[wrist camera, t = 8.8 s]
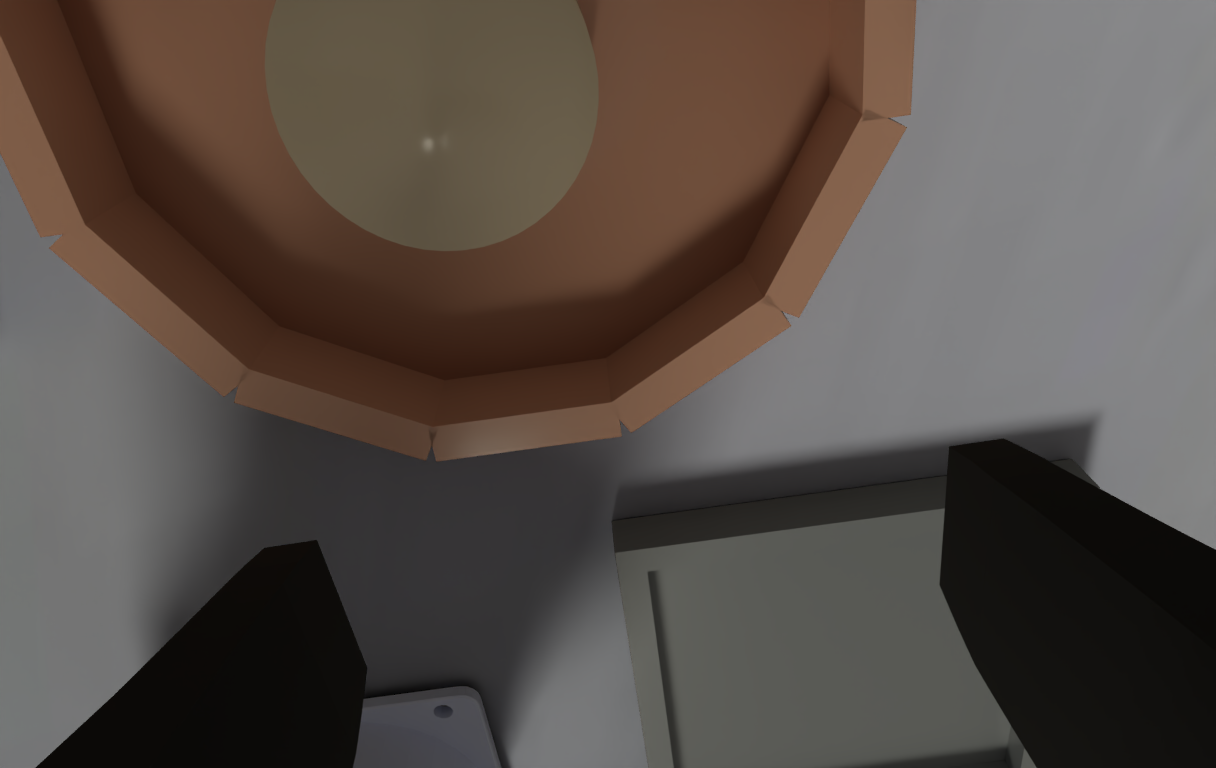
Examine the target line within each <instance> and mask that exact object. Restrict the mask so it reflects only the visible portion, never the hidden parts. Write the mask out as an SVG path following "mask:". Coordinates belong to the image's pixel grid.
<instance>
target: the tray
mask: <svg viewBox="0 0 1216 768" xmlns="http://www.w3.org/2000/svg"><path fill="white" fill-rule="evenodd" d="M1051 463H1053V464H1055V465H1057V466H1059V467H1061V468H1062V469H1064V470H1066V471H1068V472H1070V473H1072V474H1074V475H1075V476H1077V477H1079V478H1081V479H1083V480H1085V481H1086V482H1088V483H1090V484H1092V485H1094V486H1096V487H1097V488H1099V489H1100V487H1099V486H1098V485H1097V484H1096V483H1095V482H1094V481H1093V480H1092V479H1091V478H1090V477H1089V476H1088V475H1087V474H1086V473H1085V472H1084V471H1083V470H1082V469H1081V468H1080V467H1079V466H1078V465H1077V464H1076V463H1075V462H1074V461H1073V460H1072V459H1066V460H1059V461H1052V462H1051ZM946 484H947V476H941V477H933V478H926V479H919V480H911V481H904V482H897V483H889V484H882V485H874V486H867V487H860V488H852V489H845V490H837V491H830V492H823V493H815V494H808V495H800V496H793V497H786V498H778V499H771V500H764V501H756V502H749V503H741V504H734V505H727V506H719V507H712V508H704V509H697V510H690V511H682V512H675V513H667V514H660V515H653V516H645V517H638V518H631V519H623V520H616V521H612V530H613V541H614V551H615V558H616V565H617V571H618V577H619V584H620V590H621V596H622V603H623V609H624V615H625V622H626V628H627V634H628V641H629V647H630V653H631V660H632V666H633V673H634V679H635V685H636V692H637V698H638V704H639V711H640V717H641V723H642V730H643V736H644V742H645V749H646V755H647V761H648V768H1036V766H1035V764H1034V763H1033V761H1032V759H1031V758H1030V756H1029V755H1028V753H1027V751H1026V750H1025V748H1024V746H1023V745H1022V743H1021V741H1020V740H1019V738H1018V737H1017V735H1016V733H1015V732H1014V730H1013V728H1012V727H1011V725H1010V723H1009V722H1008V720H1007V718H1006V717H1005V715H1004V713H1003V712H1002V710H1001V708H1000V707H999V705H998V703H997V702H996V700H995V698H994V697H993V695H992V693H991V692H990V690H989V688H988V687H987V685H986V683H985V681H984V680H983V678H982V676H981V675H980V673H979V671H978V669H977V668H976V666H975V664H974V662H973V660H972V658H971V655H970V653H969V651H968V649H967V647H966V645H965V642H964V640H963V638H962V636H961V634H960V632H959V629H958V627H957V625H956V623H955V620H954V618H953V616H952V613H951V611H950V609H949V606H948V604H947V602H946V599H945V597H944V595H943V592H942V590H941V588H940V585H939V583H940V569H941V555H942V540H943V526H944V512H945V498H946Z"/></svg>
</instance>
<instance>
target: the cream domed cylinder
mask: <svg viewBox="0 0 1216 768" xmlns="http://www.w3.org/2000/svg"><path fill="white" fill-rule="evenodd" d="M265 76H266V88H267V93H268V98H269V103H270V107H271V112H272V115H273V118H274V121H275V123H276V126H277V129H278V132H279V135H280V137H281V139H282V141H283V143H284V145H285V147H286V149H287V151H288V153H289V155H290V157H291V158H292V160H293V161H294V163H295V164H296V166H297V168H298V169H299V171H300V172H301V174H302V175H303V176H304V177H305V179H306V180H307V181H308V182H309V184H310V185H311V186H312V187H313V189H314V190H315V191H316V192H317V193H318V194H319V195H320V196H321V197H322V198H323V199H324V200H325V201H326V202H327V203H328V204H329V205H330V206H332V207H333V208H334V209H335V210H337V211H338V212H339V213H341V214H342V215H343V216H344V217H346V218H347V219H348V220H350V221H352V222H353V223H355V224H356V225H358V226H360V227H361V228H363V229H365V230H366V231H369V232H371V233H373V234H375V235H377V236H379V237H381V238H384V239H386V240H389V241H392V242H395V243H398V244H401V245H404V246H409V247H414V248H419V249H424V250H436V251H459V250H468V249H474V248H480V247H485V246H488V245H491V244H494V243H498V242H501V241H503V240H506V239H508V238H510V237H512V236H514V235H517V234H519V233H520V232H522V231H524V230H525V229H527V228H528V227H530V226H532V225H533V224H535V223H536V222H537V221H539V220H540V219H541V218H542V217H543V216H545V215H546V214H547V213H548V212H549V211H551V210H552V208H553V207H554V206H555V205H556V204H557V203H558V202H559V201H560V200H561V199H562V198H563V197H564V195H565V194H566V192H567V191H568V190H569V188H570V187H571V185H572V184H573V183H574V181H575V180H576V178H577V176H578V174H579V172H580V170H581V168H582V166H583V164H584V162H585V160H586V157H587V155H588V152H589V149H590V146H591V144H592V140H593V136H594V131H595V127H596V122H597V113H598V103H599V89H598V73H597V67H596V60H595V54H594V51H593V47H592V44H591V40H590V37H589V33H588V30H587V27H586V24H585V20H584V17H583V14H582V11H581V8H580V5H579V3H578V1H577V0H276V3H275V6H274V9H273V12H272V15H271V18H270V21H269V27H268V33H267V38H266V46H265Z"/></svg>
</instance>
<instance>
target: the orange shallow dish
mask: <svg viewBox="0 0 1216 768" xmlns="http://www.w3.org/2000/svg"><path fill="white" fill-rule="evenodd" d="M577 1H578V3H579V5H580V8H581V11H582V14H583V17H584V20H585V24H586V27H587V30H588V33H589V37H590V40H591V44H592V47H593V51H594V54H595V60H596V67H597V73H598V89H599V103H598V113H597V122H596V127H595V131H594V136H593V140H592V144H591V146H590V149H589V152H588V155H587V157H586V160H585V162H584V164H583V166H582V168H581V170H580V172H579V174H578V176H577V178H576V180H575V181H574V183H573V184H572V185H571V187H570V188H569V190H568V191H567V192H566V194H565V195H564V197H563V198H562V199H561V200H560V201H559V202H558V203H557V204H556V205H555V206H554V207H553V208H552V210H551V211H549V212H548V213H547V214H546V215H545V216H543V217H542V218H541V219H540V220H539V221H537V222H536V223H535V224H533V225H532V226H530V227H528V228H527V229H525V230H524V231H522V232H520V233H519V234H517V235H514V236H512V237H510V238H508V239H506V240H503V241H501V242H498V243H494V244H491V245H488V246H485V247H480V248H474V249H468V250H459V251H436V250H424V249H419V248H414V247H409V246H404V245H401V244H398V243H395V242H392V241H389V240H386V239H384V238H381V237H379V236H377V235H375V234H373V233H371V232H369V231H366V230H365V229H363V228H361V227H360V226H358V225H356V224H355V223H353V222H352V221H350V220H348V219H347V218H346V217H344V216H343V215H342V214H341V213H339V212H338V211H337V210H335V209H334V208H333V207H332V206H330V205H329V204H328V203H327V202H326V201H325V200H324V199H323V198H322V197H321V196H320V195H319V194H318V193H317V192H316V191H315V190H314V189H313V187H312V186H311V185H310V184H309V182H308V181H307V180H306V179H305V177H304V176H303V175H302V174H301V172H300V171H299V169H298V168H297V166H296V164H295V163H294V161H293V160H292V158H291V157H290V155H289V153H288V151H287V149H286V147H285V145H284V143H283V141H282V139H281V137H280V135H279V132H278V129H277V126H276V123H275V121H274V118H273V115H272V112H271V107H270V103H269V98H268V93H267V88H266V76H265V46H266V38H267V33H268V27H269V21H270V18H271V15H272V12H273V9H274V6H275V3H276V0H0V153H1V156H2V158H3V160H4V162H5V164H6V166H7V168H8V170H9V172H10V174H11V177H12V179H13V181H14V183H15V185H16V187H17V189H18V191H19V193H20V195H21V197H22V200H23V202H24V204H25V206H26V208H27V210H28V212H29V214H30V216H31V218H32V221H33V223H34V225H35V227H36V229H37V231H38V233H39V235H40V237H46V236H53V235H60V234H63V235H62V236H61V237H60V238H59V239H58V240H57V241H56V242H55V243H54V244H53V245H52V246H51V247H49V249H51V250H52V251H53V252H54V253H55V254H56V255H58V256H59V257H60V258H61V259H62V260H64V261H65V262H66V263H67V264H68V265H69V266H71V267H72V268H73V269H74V270H75V271H76V272H78V273H79V274H80V275H81V276H82V277H83V278H85V279H86V280H87V281H88V282H89V283H91V284H92V285H93V286H94V287H95V288H96V289H98V290H99V291H100V292H101V293H102V294H103V295H105V296H106V297H107V298H108V299H109V300H110V301H112V302H113V303H114V304H115V305H116V306H118V307H119V308H120V309H121V310H122V311H123V312H125V313H126V314H127V315H128V316H129V317H130V318H132V319H133V320H134V321H135V322H136V323H137V324H139V325H140V326H141V327H142V328H143V329H144V330H146V331H147V332H148V333H149V334H150V335H152V336H153V337H154V338H155V339H156V340H157V341H159V342H160V343H161V344H162V345H163V346H164V347H166V348H167V349H168V350H169V351H170V352H171V353H173V354H174V355H175V356H176V357H177V358H179V359H180V360H181V361H182V362H183V363H184V364H186V365H187V366H188V367H189V368H190V369H191V370H193V371H194V372H195V373H196V374H197V375H198V376H200V377H201V378H202V379H203V380H204V381H205V382H207V383H208V384H209V385H210V386H211V387H213V388H214V389H215V390H216V391H217V392H218V393H220V394H221V395H222V396H223V397H224V396H226V395H227V394H228V393H229V392H231V391H232V390H233V389H234V388H236V387H237V386H238V389H237V393H236V397H235V401H234V403H237V404H240V405H243V406H247V407H250V408H253V409H257V410H260V411H263V412H266V413H270V414H273V415H276V416H280V417H283V418H286V419H289V420H293V421H296V422H299V423H303V424H306V425H309V426H313V427H316V428H319V429H322V430H326V431H329V432H332V433H336V434H339V435H342V436H345V437H349V438H352V439H355V440H359V441H362V442H365V443H369V444H372V445H375V446H378V447H382V448H385V449H388V450H392V451H395V452H398V453H402V454H405V455H408V456H411V457H415V458H418V459H421V460H425V461H426V459H427V457H428V454H429V452H430V449H431V446H432V447H433V451H434V455H435V458H436V462H438V461H446V460H453V459H460V458H468V457H475V456H482V455H490V454H497V453H504V452H512V451H519V450H526V449H534V448H541V447H548V446H555V445H563V444H570V443H577V442H585V441H592V440H599V439H607V438H614V437H621V436H622V434H621V427H620V421H621V422H622V423H623V424H624V425H625V426H626V427H627V429H628V430H629V431H630V432H631V433H632V432H633V431H635V430H636V429H638V428H639V427H641V426H642V425H644V424H645V423H647V422H648V421H650V420H651V419H653V418H654V417H656V416H657V415H659V414H660V413H662V412H663V411H665V410H666V409H668V408H669V407H671V406H672V405H674V404H675V403H677V402H678V401H680V400H681V399H683V398H684V397H686V396H687V395H689V394H690V393H692V392H693V391H695V390H696V389H698V388H699V387H701V386H702V385H704V384H705V383H707V382H708V381H710V380H711V379H713V378H714V377H716V376H717V375H719V374H720V373H722V372H723V371H725V370H726V369H728V368H729V367H731V366H732V365H734V364H735V363H737V362H738V361H739V360H741V359H742V358H744V357H745V356H747V355H748V354H750V353H751V352H753V351H754V350H756V349H757V348H759V347H760V346H762V345H763V344H765V343H766V342H768V341H769V340H771V339H772V338H774V337H775V336H777V335H778V334H780V333H781V332H783V331H784V330H786V329H787V328H789V327H790V326H791V325H790V323H789V321H788V320H787V318H786V316H785V315H784V313H783V312H785V313H788V314H791V315H793V316H796V317H798V318H799V317H800V315H801V313H802V311H803V310H804V308H805V306H806V304H807V303H808V301H809V299H810V297H811V296H812V294H813V292H814V290H815V288H816V287H817V285H818V283H819V281H820V280H821V278H822V276H823V274H824V273H825V271H826V269H827V267H828V266H829V264H830V262H831V260H832V259H833V257H834V255H835V253H836V251H837V250H838V248H839V246H840V244H841V243H842V241H843V239H844V237H845V236H846V234H847V232H848V230H849V229H850V227H851V225H852V223H853V222H854V220H855V218H856V216H857V214H858V213H859V211H860V209H861V207H862V206H863V204H864V202H865V200H866V199H867V197H868V195H869V193H870V192H871V190H872V188H873V186H874V184H875V183H876V181H877V179H878V177H879V176H880V174H881V172H882V170H883V169H884V167H885V165H886V163H887V162H888V160H889V158H890V156H891V155H892V153H893V151H894V149H895V147H896V146H897V144H898V142H899V140H900V139H901V137H902V135H903V133H904V132H905V130H906V128H907V127H905V126H903V125H902V124H900V123H898V122H896V121H894V120H893V119H891V117H898V116H905V115H911V98H912V78H913V57H914V37H915V17H916V0H577Z"/></svg>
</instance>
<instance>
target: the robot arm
mask: <svg viewBox="0 0 1216 768" xmlns="http://www.w3.org/2000/svg"><path fill="white" fill-rule="evenodd" d="M939 585H940V588H941V590H942V592H943V595H944V597H945V599H946V602H947V604H948V606H949V609H950V611H951V613H952V616H953V618H954V620H955V623H956V625H957V627H958V629H959V632H960V634H961V636H962V638H963V640H964V642H965V645H966V647H967V649H968V651H969V653H970V655H971V658H972V660H973V662H974V664H975V666H976V668H977V669H978V671H979V673H980V675H981V676H982V678H983V680H984V681H985V683H986V685H987V687H988V688H989V690H990V692H991V693H992V695H993V697H994V698H995V700H996V702H997V703H998V705H999V707H1000V708H1001V710H1002V712H1003V713H1004V715H1005V717H1006V718H1007V720H1008V722H1009V723H1010V725H1011V727H1012V728H1013V730H1014V732H1015V733H1016V735H1017V737H1018V738H1019V740H1020V741H1021V743H1022V745H1023V746H1024V748H1025V750H1026V751H1027V753H1028V755H1029V756H1030V758H1031V759H1032V761H1033V763H1034V764H1035V766H1036V768H1216V550H1215V549H1213V548H1211V547H1209V546H1207V545H1205V544H1203V543H1201V542H1199V541H1197V540H1195V539H1193V538H1191V537H1190V536H1188V535H1186V534H1184V533H1182V532H1180V531H1178V530H1176V529H1174V528H1172V527H1170V526H1168V525H1167V524H1165V523H1163V522H1161V521H1159V520H1157V519H1155V518H1153V517H1151V516H1149V515H1148V514H1146V513H1144V512H1142V511H1140V510H1138V509H1136V508H1134V507H1133V506H1131V505H1129V504H1127V503H1125V502H1123V501H1121V500H1120V499H1118V498H1116V497H1114V496H1112V495H1110V494H1109V493H1107V492H1105V491H1103V490H1101V489H1099V488H1097V487H1096V486H1094V485H1092V484H1090V483H1088V482H1086V481H1085V480H1083V479H1081V478H1079V477H1077V476H1075V475H1074V474H1072V473H1070V472H1068V471H1066V470H1064V469H1062V468H1061V467H1059V466H1057V465H1055V464H1053V463H1051V462H1049V461H1047V460H1046V459H1044V458H1042V457H1040V456H1038V455H1036V454H1034V453H1032V452H1030V451H1028V450H1026V449H1024V448H1022V447H1020V446H1018V445H1016V444H1014V443H1012V442H1010V441H1008V440H1006V439H997V440H991V441H984V442H977V443H970V444H963V445H957V446H950V447H949V455H948V469H947V484H946V498H945V512H944V526H943V540H942V555H941V569H940V583H939ZM366 673H367V666H366V664H365V661H364V659H363V656H362V654H361V651H360V649H359V646H358V644H357V641H356V638H355V636H354V633H353V631H352V628H351V626H350V623H349V621H348V618H347V616H346V613H345V610H344V608H343V605H342V603H341V600H340V598H339V595H338V593H337V590H336V587H335V585H334V582H333V580H332V577H331V575H330V572H329V570H328V567H327V565H326V562H325V559H324V557H323V554H322V552H321V549H320V547H319V544H318V542H317V540H314V541H308V542H301V543H294V544H287V545H281V546H274V547H267V548H264V549H263V550H262V551H260V552H259V553H258V554H257V555H256V556H255V557H254V558H253V559H251V560H250V561H249V562H248V563H247V564H246V565H245V566H244V567H243V568H242V569H241V570H240V571H239V572H238V573H237V574H236V575H235V576H234V577H233V578H231V579H230V580H229V581H228V582H227V583H226V584H225V585H224V586H223V587H222V588H221V589H220V590H219V591H218V592H217V593H216V594H215V595H214V596H213V597H212V598H211V599H210V600H209V601H208V602H207V603H206V604H205V605H204V606H203V607H202V608H201V609H200V610H199V611H198V612H197V613H196V614H195V615H194V616H193V617H192V618H191V619H190V620H189V621H188V622H187V623H186V624H185V625H184V627H183V628H182V629H181V630H180V631H179V632H177V633H176V634H175V635H174V636H173V637H172V638H171V639H170V640H169V641H168V642H167V643H166V644H165V645H164V646H163V647H162V648H161V649H160V650H159V651H158V652H157V653H156V654H155V655H154V656H153V657H152V658H151V659H150V660H149V661H148V662H147V663H146V664H145V665H144V666H143V667H142V668H141V669H140V670H139V671H138V672H137V673H136V674H135V675H134V676H133V677H132V678H131V679H130V680H129V681H128V682H127V683H126V684H125V685H124V686H123V687H122V688H121V689H120V690H119V691H118V692H117V693H116V694H115V695H114V696H113V697H111V698H110V699H109V700H108V701H107V702H106V703H105V704H104V705H103V706H102V707H101V708H100V709H99V710H97V711H96V712H95V713H94V714H93V715H92V716H91V717H90V718H89V719H88V720H87V721H86V722H84V723H83V724H82V725H81V726H80V727H79V728H78V729H77V730H76V731H75V732H74V733H73V734H71V735H70V736H69V737H68V738H67V739H66V740H65V741H64V742H63V743H62V744H61V745H60V746H58V747H57V748H56V749H55V750H54V751H53V752H52V753H51V754H50V755H49V756H48V757H47V758H46V759H44V760H43V761H42V762H41V763H40V764H39V765H38V766H37V767H36V768H501V765H500V761H499V758H498V754H497V751H496V747H495V744H494V741H493V737H492V734H491V730H490V727H489V723H488V720H487V716H486V713H485V710H484V706H483V703H482V699H481V696H480V694H479V693H478V692H477V691H476V690H474V689H473V688H470V687H467V686H457V687H449V688H442V689H434V690H427V691H419V692H412V693H404V694H397V695H389V696H382V697H374V698H367V699H364V691H365V682H366ZM440 705H447V706H440Z"/></svg>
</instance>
